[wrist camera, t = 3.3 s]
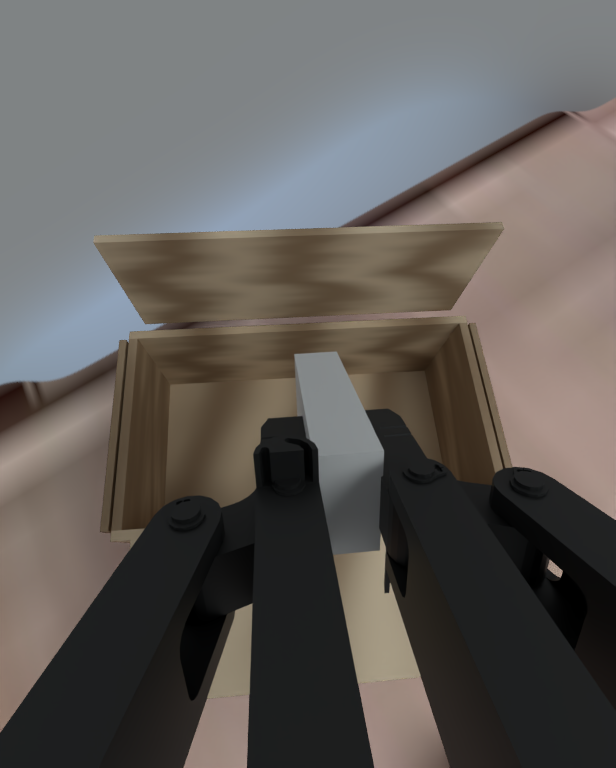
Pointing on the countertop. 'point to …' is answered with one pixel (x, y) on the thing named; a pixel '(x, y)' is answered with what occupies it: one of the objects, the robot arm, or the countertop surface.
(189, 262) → the flap
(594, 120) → the countertop surface
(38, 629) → the countertop surface
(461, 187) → the countertop surface
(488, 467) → the carton
